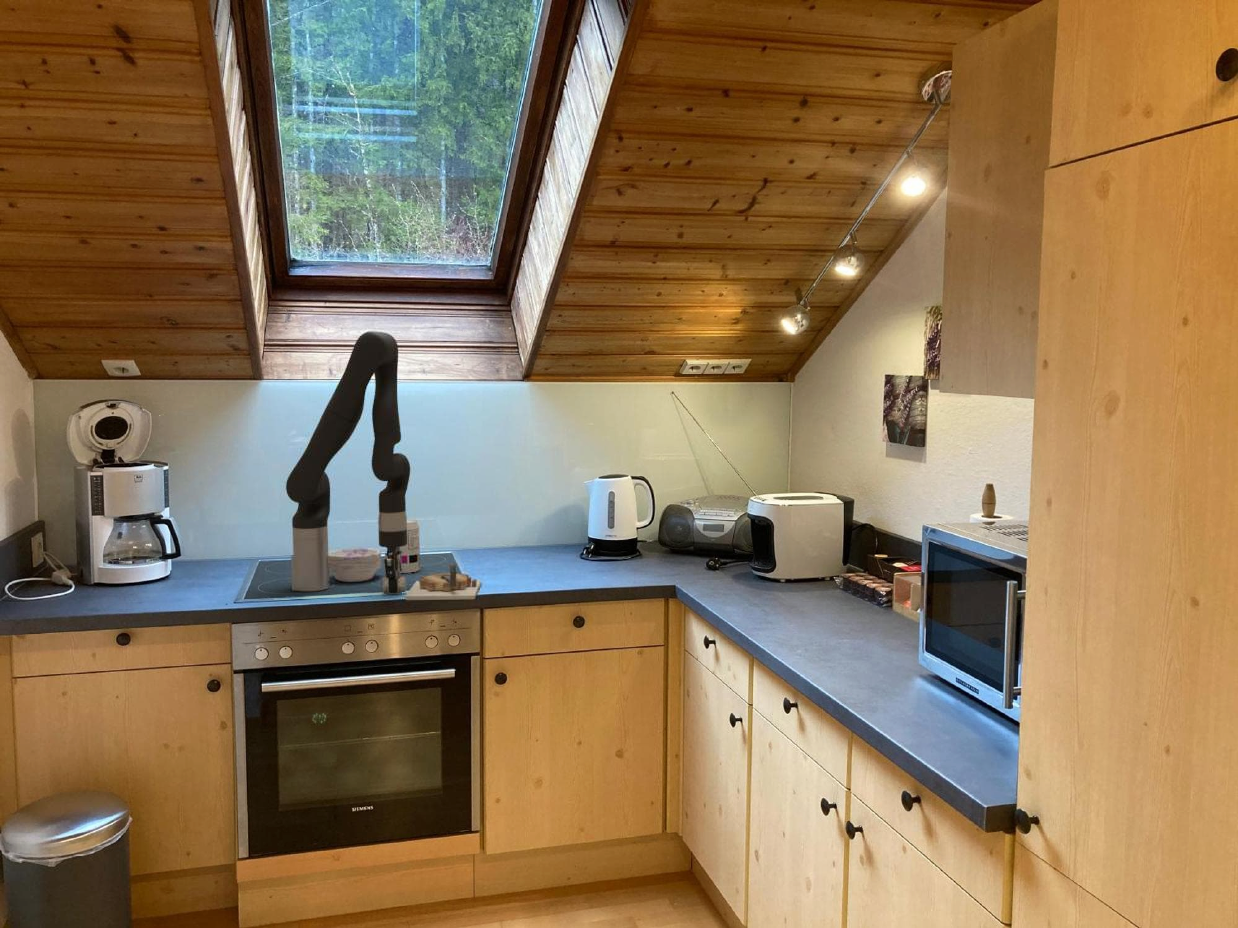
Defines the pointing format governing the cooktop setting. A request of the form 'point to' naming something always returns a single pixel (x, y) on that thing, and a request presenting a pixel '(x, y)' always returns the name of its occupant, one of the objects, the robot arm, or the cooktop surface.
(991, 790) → the cooktop surface
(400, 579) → the link
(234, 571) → the cooktop surface
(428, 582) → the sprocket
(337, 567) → the paper bowls
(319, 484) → the robot arm
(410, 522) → the supplement can
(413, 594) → the plate
